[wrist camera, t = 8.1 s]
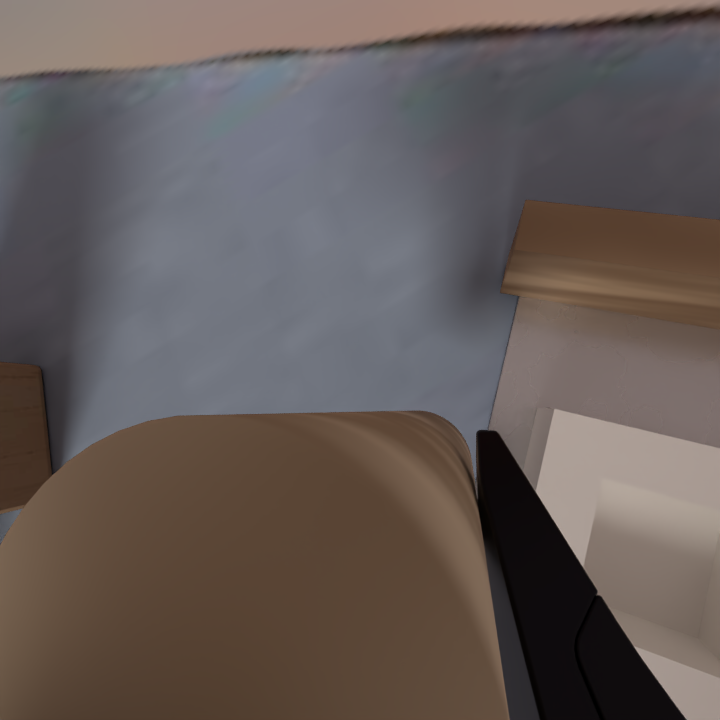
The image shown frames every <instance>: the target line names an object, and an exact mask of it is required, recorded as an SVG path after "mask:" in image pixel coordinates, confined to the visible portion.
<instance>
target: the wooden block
mask: <svg viewBox="0 0 720 720" xmlns="http://www.w3.org/2000/svg"><path fill="white" fill-rule="evenodd" d="M51 476H52V470H51V461H50V451H49V441H48V431H47V422H46V412H45V402H44V392H43V383H42V373H41V369H40V367H38V366H36V365H29V364H18V363H7V362H0V514H2V513H6V512H10V511H14V510H18V509H22V508H24V506H25V505H26V504H27V503H28V502H29V501H30V499H31V498H32V497H33V496H34V495H35V493H36V492H37V491H38V490H39V489H40V488H41V486H42V485H43V484H44V483H45V482H46V481H47V480H48V479H49V478H50V477H51Z"/></svg>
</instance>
